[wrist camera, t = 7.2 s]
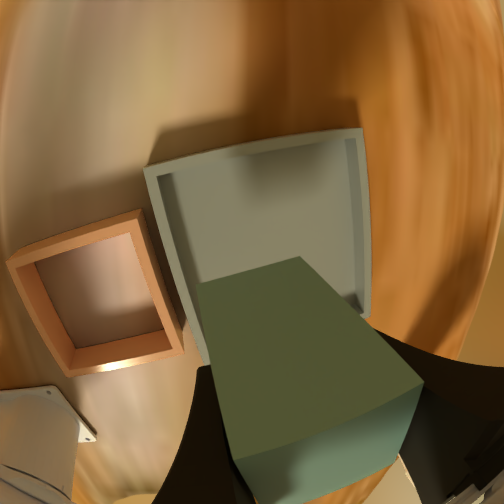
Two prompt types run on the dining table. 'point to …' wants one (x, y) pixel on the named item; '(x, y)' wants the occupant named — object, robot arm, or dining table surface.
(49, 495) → the robot arm
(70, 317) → the dining table surface
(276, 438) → the teal block
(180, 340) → the orange square frame
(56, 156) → the dining table surface
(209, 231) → the slate tray
